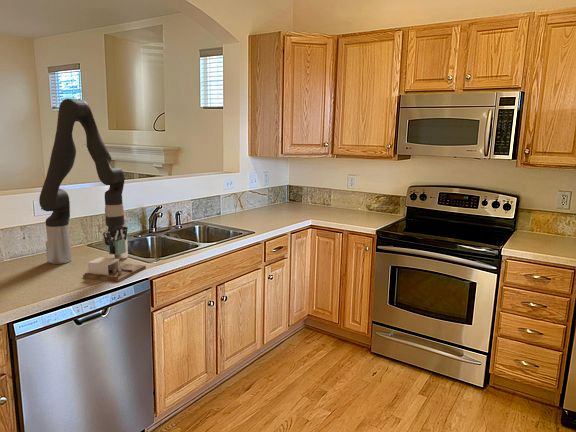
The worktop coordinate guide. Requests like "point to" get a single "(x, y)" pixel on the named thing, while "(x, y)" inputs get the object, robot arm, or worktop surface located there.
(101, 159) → the robot arm
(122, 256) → the water bottle
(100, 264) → the white rectangular block
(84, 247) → the worktop surface
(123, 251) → the sleeve
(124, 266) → the board
